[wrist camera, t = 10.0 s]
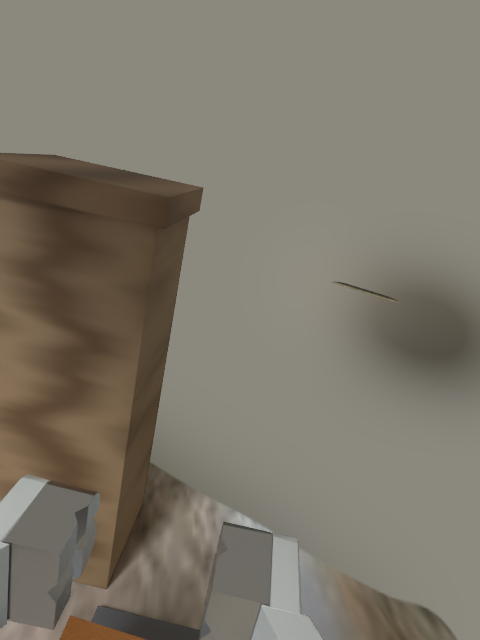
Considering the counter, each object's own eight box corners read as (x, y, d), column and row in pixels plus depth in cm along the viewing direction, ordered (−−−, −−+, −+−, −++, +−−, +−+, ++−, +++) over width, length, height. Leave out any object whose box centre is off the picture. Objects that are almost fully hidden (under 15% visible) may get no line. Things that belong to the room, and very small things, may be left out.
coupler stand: (-35, 562, 30) (-39, 151, 21) (35, 474, 38) (54, 155, 30) (111, 597, 30) (169, 197, 21) (150, 501, 38) (203, 187, 29)
